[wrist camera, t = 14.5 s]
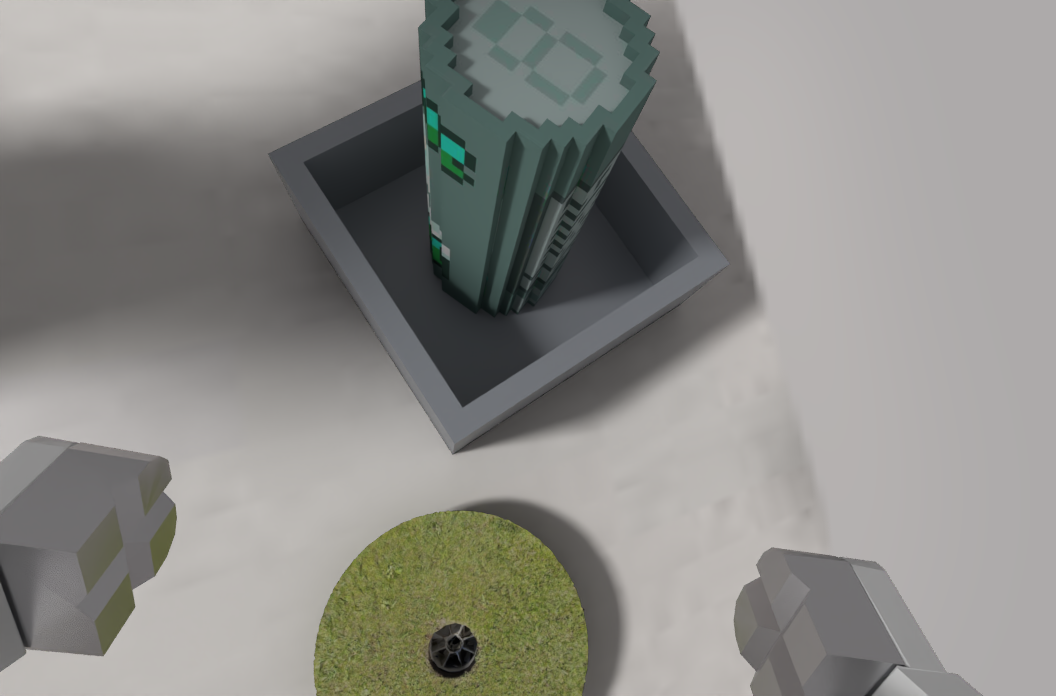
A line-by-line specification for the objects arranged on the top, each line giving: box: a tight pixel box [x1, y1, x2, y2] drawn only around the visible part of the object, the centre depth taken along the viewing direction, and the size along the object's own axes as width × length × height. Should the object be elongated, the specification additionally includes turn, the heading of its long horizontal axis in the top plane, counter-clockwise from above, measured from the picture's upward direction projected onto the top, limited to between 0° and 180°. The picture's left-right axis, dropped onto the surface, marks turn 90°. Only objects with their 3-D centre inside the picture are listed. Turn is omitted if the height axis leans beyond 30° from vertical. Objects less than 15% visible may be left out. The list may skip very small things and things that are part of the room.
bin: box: [268, 80, 730, 454], centre depth 29 cm, size 14×14×6 cm
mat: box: [314, 511, 588, 696], centre depth 26 cm, size 11×11×2 cm
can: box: [418, 0, 660, 318], centre depth 23 cm, size 6×6×15 cm
